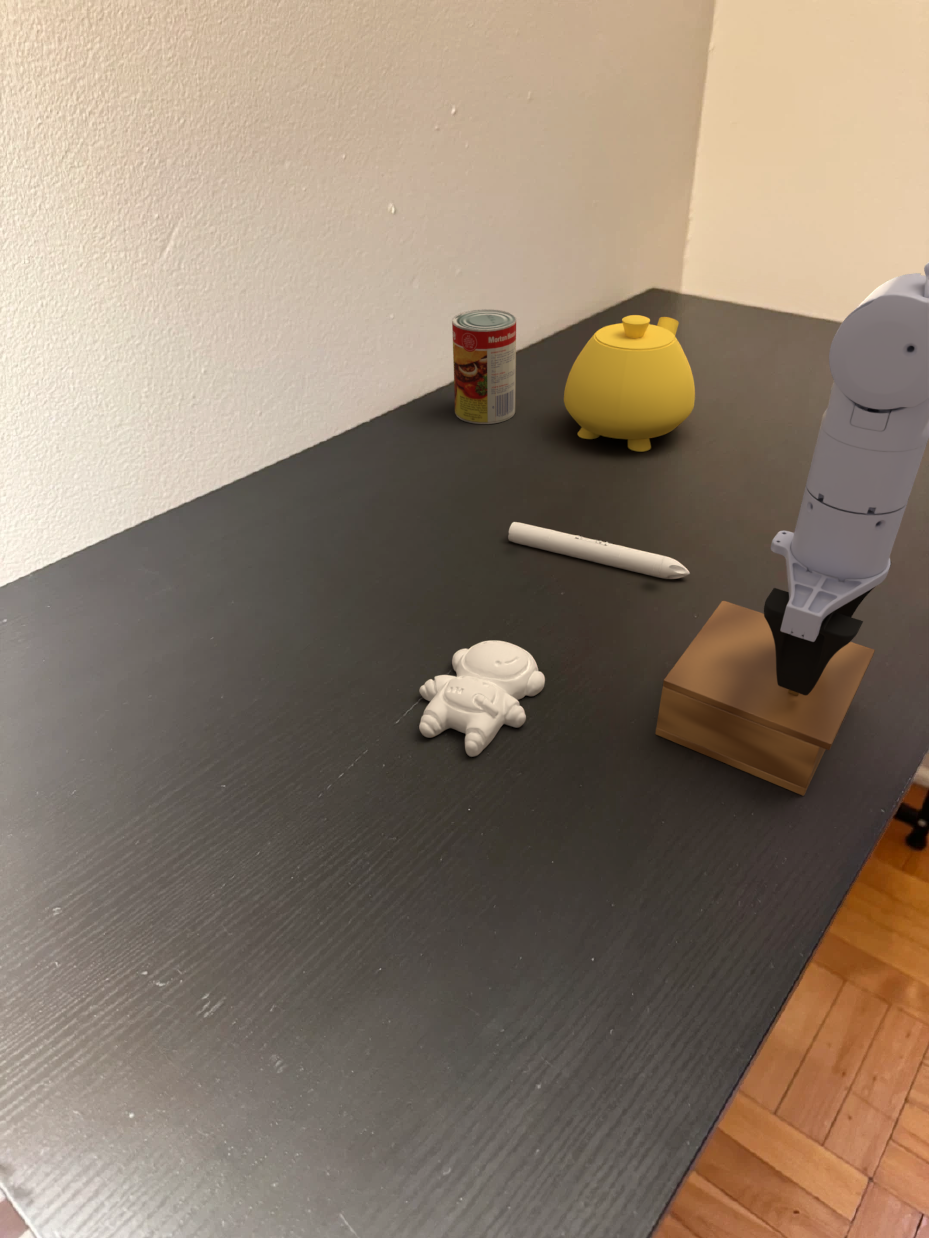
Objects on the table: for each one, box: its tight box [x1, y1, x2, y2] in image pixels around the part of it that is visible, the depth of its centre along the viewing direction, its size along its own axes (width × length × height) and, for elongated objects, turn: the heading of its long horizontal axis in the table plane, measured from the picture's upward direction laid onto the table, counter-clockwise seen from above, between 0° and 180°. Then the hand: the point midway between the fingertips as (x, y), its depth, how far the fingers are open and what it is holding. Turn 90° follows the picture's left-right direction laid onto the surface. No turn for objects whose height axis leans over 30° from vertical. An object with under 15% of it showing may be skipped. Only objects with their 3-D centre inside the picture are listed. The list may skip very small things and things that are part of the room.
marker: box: [507, 521, 691, 580], centre depth 81 cm, size 18×2×2 cm, turn 63°
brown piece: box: [662, 600, 876, 751], centre depth 59 cm, size 12×11×4 cm
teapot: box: [563, 314, 696, 452], centre depth 102 cm, size 20×16×14 cm
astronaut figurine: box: [418, 640, 546, 758], centre depth 65 cm, size 9×12×3 cm
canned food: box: [451, 308, 517, 425], centre depth 106 cm, size 8×8×12 cm
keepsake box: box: [654, 686, 827, 797], centre depth 62 cm, size 11×11×5 cm
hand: (806, 664), depth 59 cm, fingers closed on brown piece, 5 cm apart
